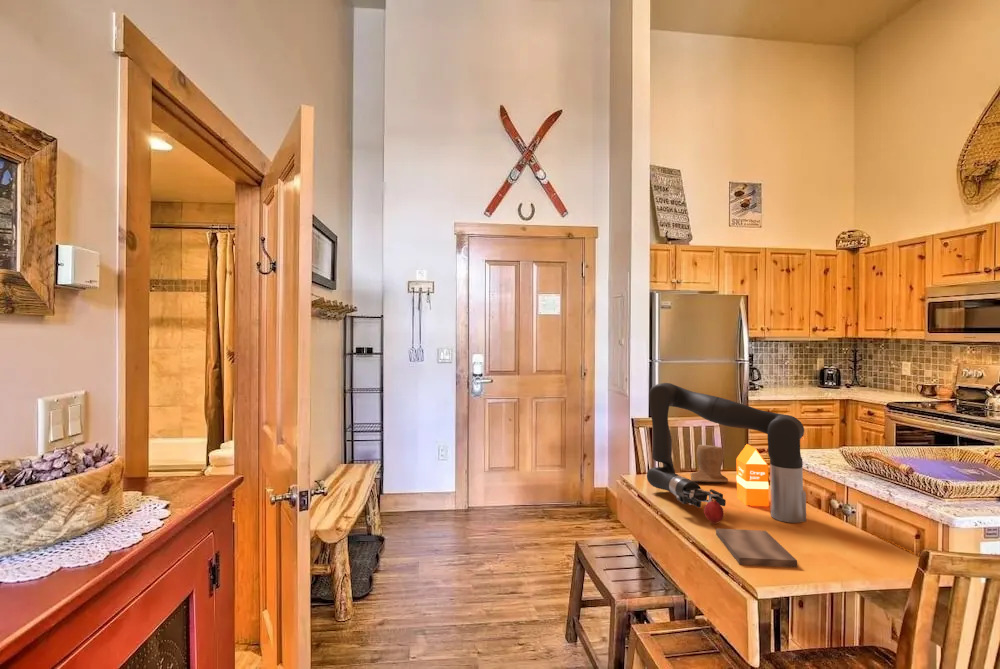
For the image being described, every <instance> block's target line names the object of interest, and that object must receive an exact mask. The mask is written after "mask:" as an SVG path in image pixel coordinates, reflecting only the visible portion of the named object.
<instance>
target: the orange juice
mask: <svg viewBox="0 0 1000 669" xmlns="http://www.w3.org/2000/svg"><path fill="white" fill-rule="evenodd" d="M735 459H736V463H735V464H736V498H737V499H738V500H739V501H740V502H741V503H742V504H744V505H745V506H746V505H747V506H748V505H750V506H749V507H769V500H770V499H769V489H770V487H769V464H768V463H767V462H766V460H765V459H764V458H763V456H762V455H761V454H760V452H759V450H757V448H756V447H755V446H752V445H749V444H748V443H746V445H744V448H743V449H742V450H741V451H740V453H739V454H738V455H737V457H736V458H735ZM747 506H746V507H747Z"/></svg>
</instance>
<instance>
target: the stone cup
mask: <svg viewBox="0 0 1000 669" xmlns="http://www.w3.org/2000/svg"><path fill="white" fill-rule="evenodd" d="M724 457H725V455H724V449H723V448H722V447H721V446H718V445H717V446H716V445H709V444H707V445H706V444H698V445H697V449H696V459H697V462H698V470H697V471H694V472H690V480H691V481H693V482H695V483H726V482H727V483H728V482H729V479H728V478H727V477H726V476H725V475H723V474H722V472H721V471H722V466H723V462H724Z"/></svg>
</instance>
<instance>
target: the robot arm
mask: <svg viewBox="0 0 1000 669" xmlns="http://www.w3.org/2000/svg"><path fill="white" fill-rule="evenodd" d="M648 398H649V399H648V400H649V405H650V406H649V407H650V415H651V423H652V424H651V426H652V453H651V454H652V459H653V460H654V461H655V462H658V463H662V465H663V466H660V467H659V466H658V467H657V466H656V467H651V468H649V469H648V470H647V472H646V480H647V481H648V483H649V484H650V485H651V487H654V488H656V489H659V490H663V491H667V492H668V493H671V494H673V495H674V496H675V500H677V501H678V502H679V503H681V504H683V505H685V506H686V505H687V504H688V505H690V506H694V507H696V508H698V509H701V508H702V502H704V503H709V502H711V499H715V500H716V502H718V503H719V504H720V505H721V506H722V507H726V499H725V498H724V494H723V493H722V492H719V491H717V490H715V489H709V490H704V489H702V487H701V486H700V485H699V484H698V482H694V481H691V479H689V478H687V477H685V476H682V475H680V474H677V473H676V471H675V467H674V462H673V456H672V452H673V451H672V450H673V443H672V442H673V441H672V440H673V439H672V434H671V430H670V427H669V418H668V417H669V410H670V407H673V408H674V407H675V408H678V409H681V410H682V409H684V410H686V411H690V412H692V413H693V414H696V415H697V416H699V417H700V418H702V419H704V420H707V421H708V422H712V423H714V424H718V425H722V426H725V427H730V428H737V429H746V430H753V431H756V432H761V433H763V434H766V435H767V453H768V456H769V457H768V458H769V472H770V473H769V475H770V477H769V482H770V487H769V489H770V516H771V517H772V518H773V519H774V520H777V521H780V522H784V523H785V522H786V523H791V524H792V523H793V524H794V523H798V524H799V523H802V522H805V523H806V522H807V492H806V491H805V490H804V486H803V485H804V484H803V483H804V481H803V480H804V476H803V474H804V472H803V463H804V462H803V458H802V454H801V439H802V437H803V436H804V435H805V427H804V425H803V423H802V422H801V420H800V419H799V418H797V417H795V416H793V415H789V414H783V413H776V412H771V411H766V410H761V409H758V408H755V407H752V406H749V405H746V404H743V403H740V402H737V401H734V400H731V399H727V398H723V397H719V396H715V395H710V394H705V393H701V392H696V391H692V390H689V389H686V388H683V387H682V386H679V385H676V384H674V383H671V382H670V383H669V382H662V383H656V384H654V385H653V386H652V387H651V388H650V390H649V393H648Z"/></svg>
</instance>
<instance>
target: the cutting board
mask: <svg viewBox="0 0 1000 669" xmlns="http://www.w3.org/2000/svg"><path fill="white" fill-rule="evenodd" d="M715 536H717V538H718V539H719V540H720V542H721V543H722V544H723V545H724V547H725V548H726V549H727V550H728V551H729V553H730V555H731V556H732V557H733V558H734V560H735V559H736V560H735V561H736V562H737V564H738V565H743V566H762V567H778V568H779V567H780V568H798V560H797V559H796V558H795V557H794V556H793V555H792V554H791V553H790V552H789V551H788V550H787V549H786V548H785V547H783V546H782V544H781V543H779V542H778V540H776V539H775V538H774V537H773V536H772V535H771V534H769V532H768V531H767V530H763V529H761V530H758V529H757V530H756V529H733V528H715Z"/></svg>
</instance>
